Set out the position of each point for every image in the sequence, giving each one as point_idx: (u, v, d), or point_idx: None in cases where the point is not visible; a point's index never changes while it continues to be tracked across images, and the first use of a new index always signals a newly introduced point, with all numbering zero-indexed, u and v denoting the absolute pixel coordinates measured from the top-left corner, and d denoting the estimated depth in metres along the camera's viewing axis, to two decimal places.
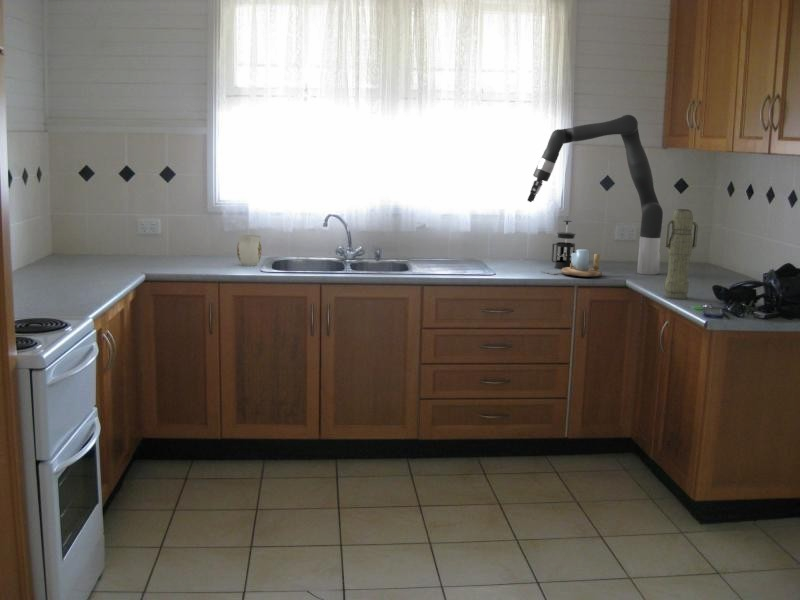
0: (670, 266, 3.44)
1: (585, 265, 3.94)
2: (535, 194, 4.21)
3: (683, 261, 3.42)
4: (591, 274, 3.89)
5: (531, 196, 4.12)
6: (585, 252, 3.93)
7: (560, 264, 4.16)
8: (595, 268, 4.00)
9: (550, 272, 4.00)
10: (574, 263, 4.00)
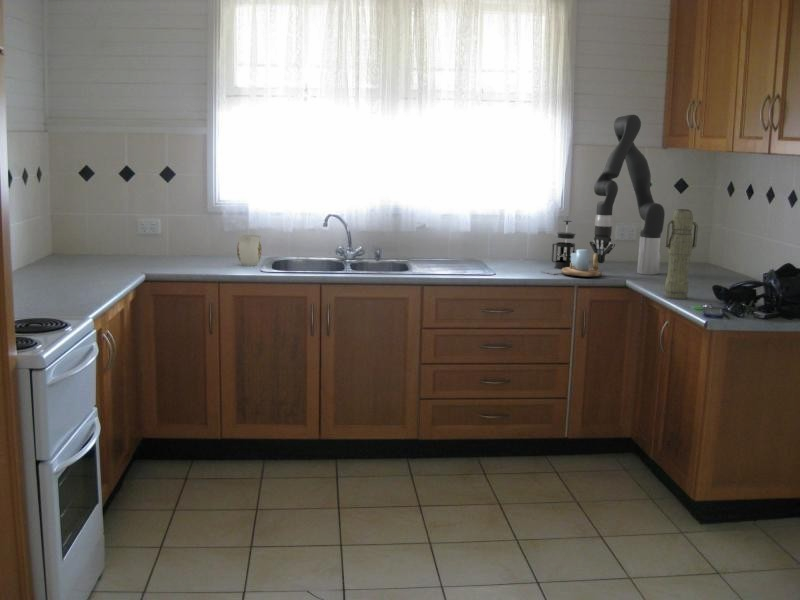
0: (670, 266, 3.44)
1: (586, 265, 3.95)
2: None
3: (683, 261, 3.42)
4: (592, 274, 3.89)
5: (604, 257, 3.96)
6: (585, 252, 3.93)
7: (560, 264, 4.16)
8: (595, 268, 4.00)
9: (550, 272, 4.00)
10: (574, 263, 4.00)
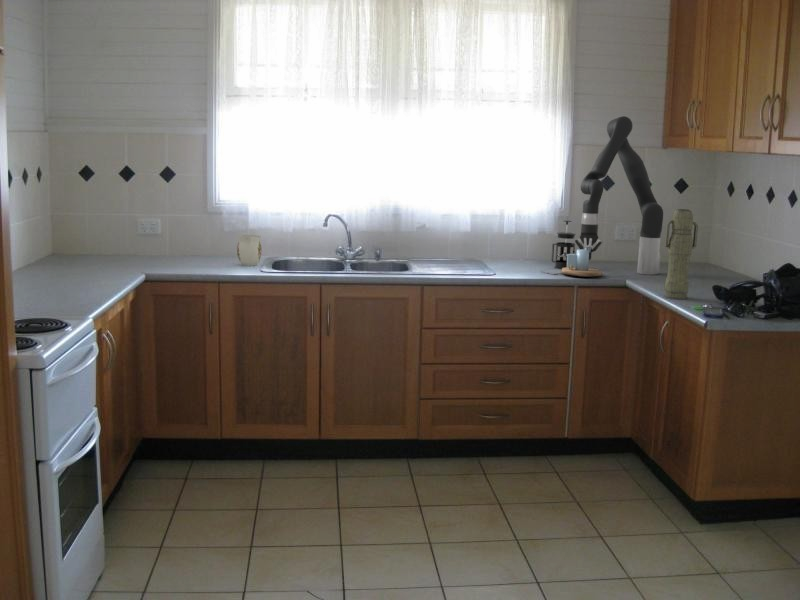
0: (670, 266, 3.44)
1: None
2: None
3: (683, 261, 3.42)
4: (601, 272, 3.96)
5: None
6: (588, 252, 3.95)
7: (560, 264, 4.16)
8: None
9: (550, 272, 4.00)
10: (572, 264, 3.96)
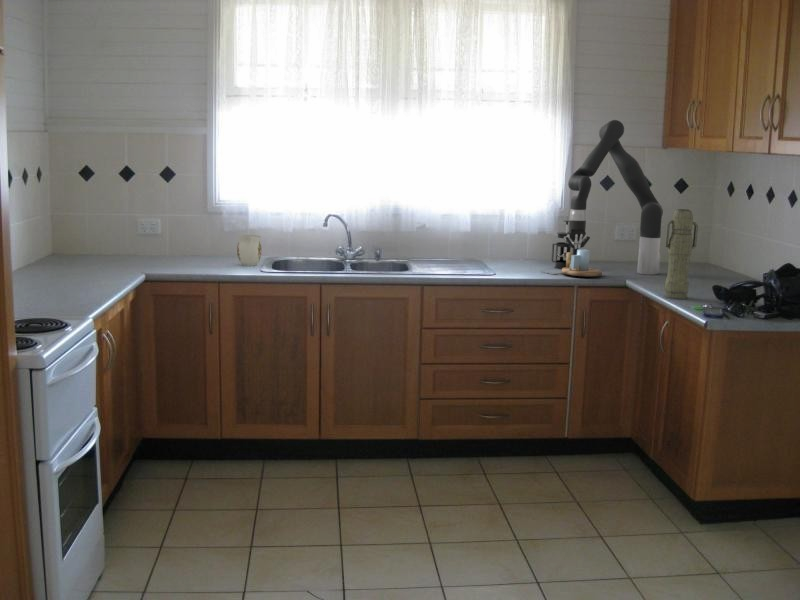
0: (670, 266, 3.44)
1: None
2: None
3: (683, 261, 3.42)
4: None
5: None
6: None
7: (560, 264, 4.16)
8: None
9: (550, 272, 4.00)
10: (577, 265, 3.94)
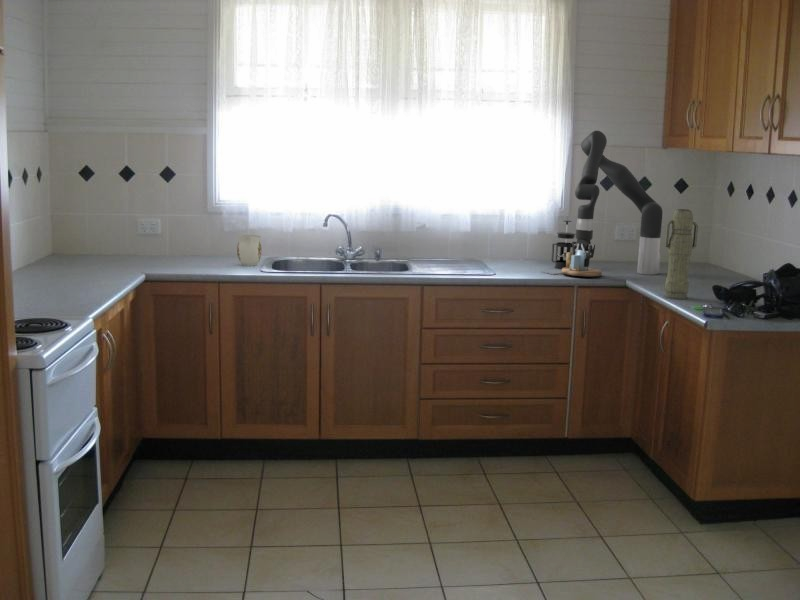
0: (670, 266, 3.44)
1: None
2: (584, 259, 3.93)
3: (683, 261, 3.42)
4: None
5: None
6: None
7: (560, 264, 4.16)
8: None
9: (550, 272, 4.00)
10: (577, 265, 3.94)
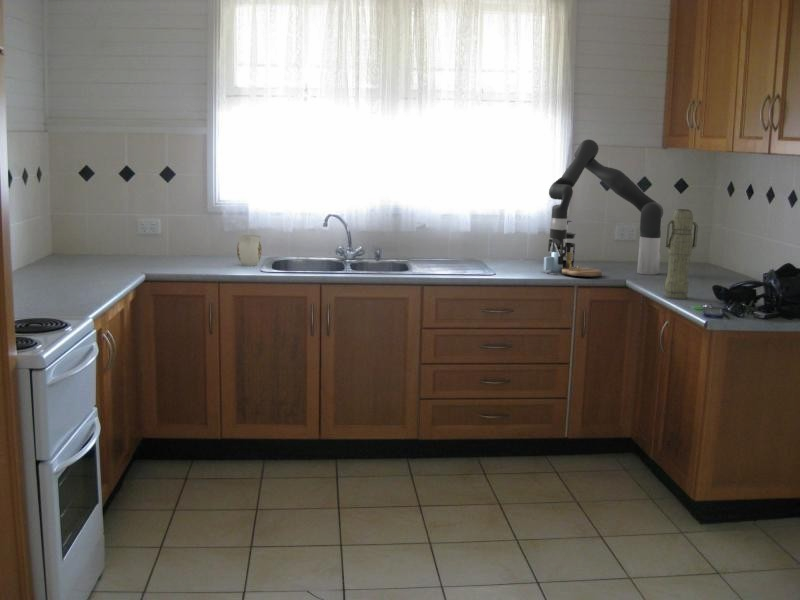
0: (670, 266, 3.44)
1: None
2: None
3: (683, 261, 3.42)
4: None
5: None
6: None
7: None
8: None
9: (550, 272, 4.00)
10: (550, 267, 4.00)
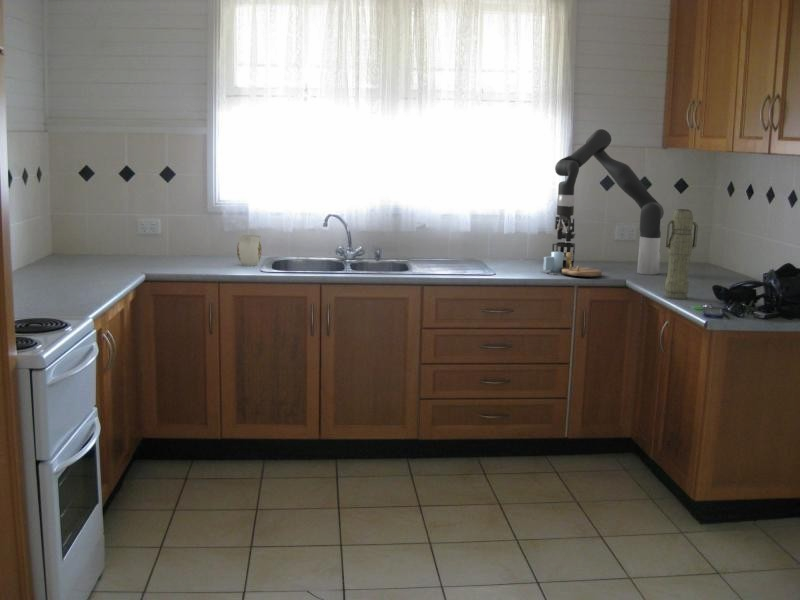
0: (670, 266, 3.44)
1: None
2: None
3: (683, 261, 3.42)
4: None
5: None
6: None
7: None
8: None
9: (550, 272, 4.00)
10: (549, 267, 4.00)
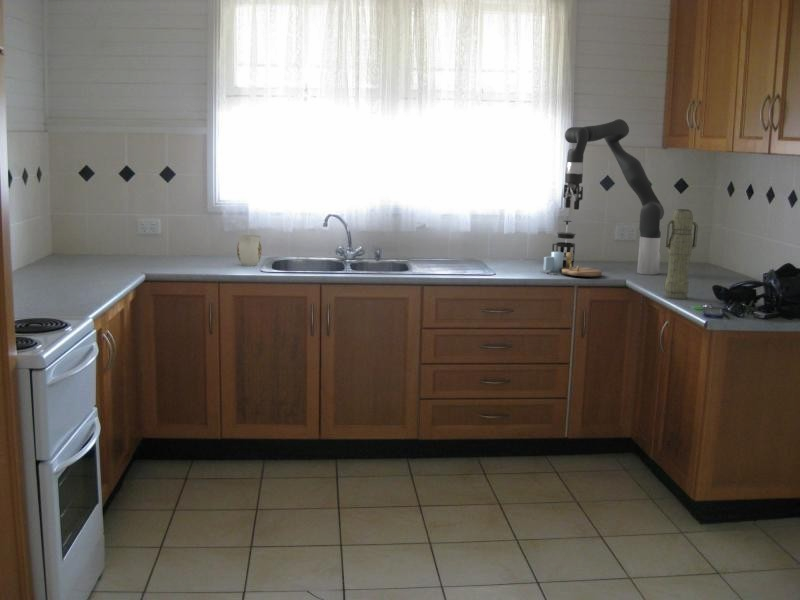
0: (670, 266, 3.44)
1: None
2: None
3: (683, 261, 3.42)
4: None
5: None
6: None
7: None
8: None
9: (550, 272, 4.00)
10: (550, 267, 4.00)
